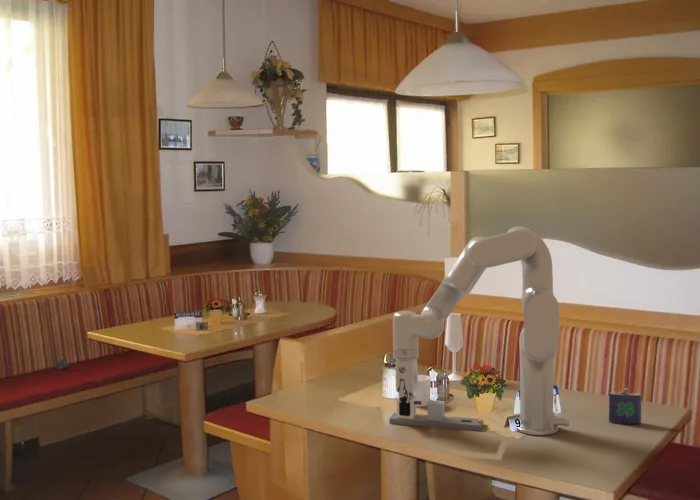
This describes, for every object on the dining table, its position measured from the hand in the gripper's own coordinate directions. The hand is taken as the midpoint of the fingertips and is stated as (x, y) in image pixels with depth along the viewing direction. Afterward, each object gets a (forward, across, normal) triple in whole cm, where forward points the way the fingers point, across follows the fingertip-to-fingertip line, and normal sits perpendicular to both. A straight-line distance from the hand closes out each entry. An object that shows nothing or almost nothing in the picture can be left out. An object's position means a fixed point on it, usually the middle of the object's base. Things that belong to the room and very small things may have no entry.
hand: (406, 412), depth 236 cm
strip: (+4, 0, -9) cm, 10 cm away
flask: (+5, +19, -62) cm, 65 cm away
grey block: (+3, 0, -9) cm, 9 cm away
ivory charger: (+3, 0, 0) cm, 3 cm away
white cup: (+4, +19, 0) cm, 20 cm away
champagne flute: (+4, +58, -4) cm, 58 cm away
